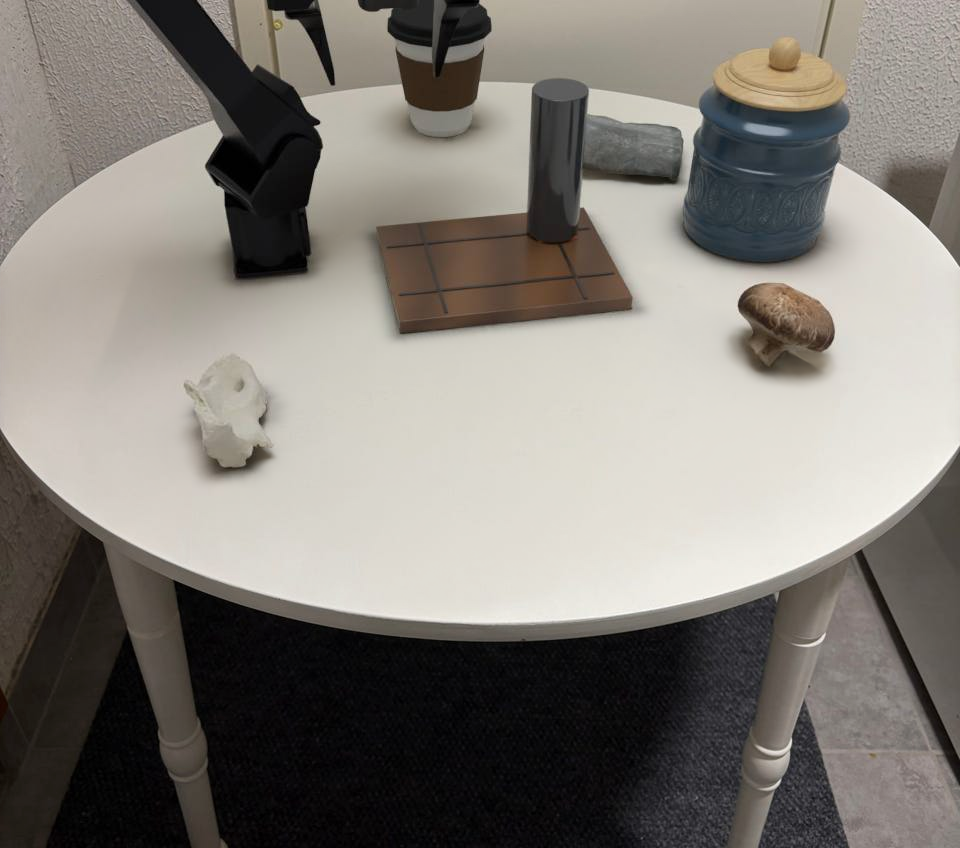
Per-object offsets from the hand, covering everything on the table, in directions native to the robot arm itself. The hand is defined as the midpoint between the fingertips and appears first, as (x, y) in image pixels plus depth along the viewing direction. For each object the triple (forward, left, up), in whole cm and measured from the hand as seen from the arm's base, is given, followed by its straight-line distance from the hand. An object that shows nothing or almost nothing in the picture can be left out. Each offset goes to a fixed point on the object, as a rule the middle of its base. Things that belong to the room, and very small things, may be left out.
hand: (384, 80), depth 92 cm
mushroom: (+28, -28, -13) cm, 42 cm away
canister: (+33, -9, -13) cm, 37 cm away
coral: (-16, -30, -13) cm, 36 cm away
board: (+8, -12, -13) cm, 19 cm away
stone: (+24, +8, -13) cm, 29 cm away
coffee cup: (+8, +19, -13) cm, 24 cm away
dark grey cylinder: (+14, -8, -12) cm, 20 cm away
